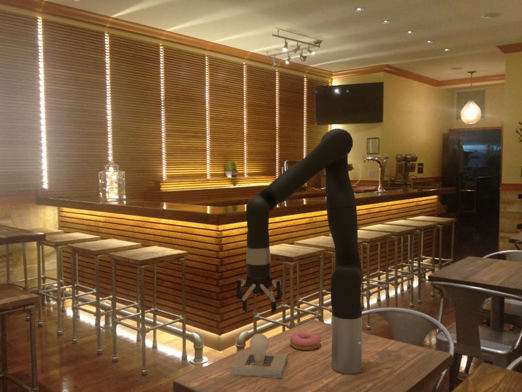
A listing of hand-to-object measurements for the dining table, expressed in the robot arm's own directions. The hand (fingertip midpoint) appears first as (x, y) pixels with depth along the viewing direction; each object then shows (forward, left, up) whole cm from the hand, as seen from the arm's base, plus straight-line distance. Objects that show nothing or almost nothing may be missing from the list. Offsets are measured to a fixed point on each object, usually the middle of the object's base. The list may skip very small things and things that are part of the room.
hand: (259, 312), depth 150 cm
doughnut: (-12, -21, -19) cm, 31 cm away
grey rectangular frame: (0, 0, -18) cm, 18 cm away
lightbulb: (0, 0, -18) cm, 18 cm away
